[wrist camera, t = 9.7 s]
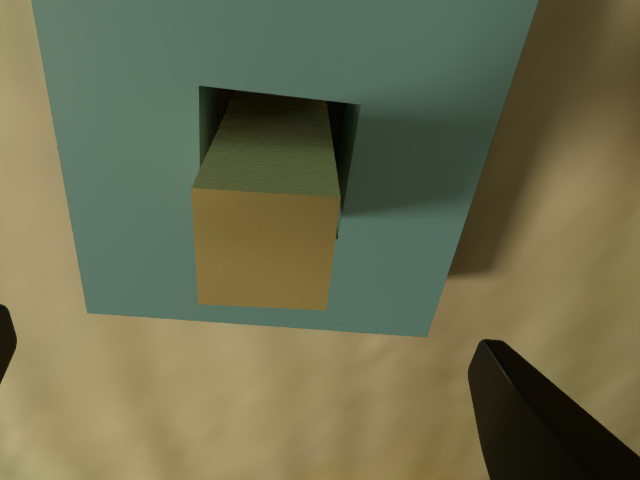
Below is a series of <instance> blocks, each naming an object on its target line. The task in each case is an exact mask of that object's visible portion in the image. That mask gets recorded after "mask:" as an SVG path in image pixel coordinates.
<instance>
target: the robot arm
mask: <svg viewBox="0 0 640 480" xmlns="http://www.w3.org/2000/svg"><path fill="white" fill-rule="evenodd" d="M16 345H17V337H16V333H15V330H14V326H13V323H12V319H11V316H10V313H9V310H8V308H7V307H6V306H4V305H1V304H0V384H1V381H2V379H3V377H4V375H5V372H6V370H7V368H8V365H9V363H10V361H11V359H12V356H13V354H14V352H15V349H16ZM468 381H469V386H470V391H471V397H472V402H473V407H474V413H475V418H476V423H477V429H478V434H479V439H480V444H481V449H482V453H483V456H484V460H485V464H486V467H487V470H488V474H489V477H490V480H640V457H639V456H638V455H637V454H636V453H635V452H633V451H632V450H631V449H630V448H629V447H627V446H626V445H625V444H624V443H623V442H622V441H620V440H619V439H618V438H617V437H616V436H615V435H613V434H612V433H611V432H610V431H609V430H607V429H606V428H605V427H604V426H603V425H602V424H600V423H599V422H598V421H597V420H596V419H595V418H593V417H592V416H591V415H590V414H589V413H587V412H586V411H585V410H584V409H583V408H582V407H580V406H579V405H578V404H577V403H576V402H575V401H573V400H572V399H571V398H570V397H569V396H567V395H566V394H565V393H564V392H563V391H562V390H560V389H559V388H558V387H557V386H556V385H555V384H553V383H552V382H551V381H550V380H549V379H547V378H546V377H545V376H544V375H543V374H542V373H540V372H539V371H538V370H537V369H536V368H535V367H533V366H532V365H531V364H530V363H529V362H527V361H526V360H525V359H524V358H523V357H522V356H520V355H519V354H518V353H517V352H516V351H515V350H513V349H512V348H511V347H510V346H509V345H507V344H506V343H505V342H503V341H501V340H492V339H483V340H481V341H480V342H479V344H478V346H477V349H476V351H475V354H474V356H473V358H472V361H471V363H470V366H469V369H468Z"/></svg>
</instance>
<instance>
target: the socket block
mask: <svg viewBox="0 0 640 480" xmlns="http://www.w3.org/2000/svg"><path fill="white" fill-rule="evenodd" d="M31 1H32V6H33V12H34V17H35V23H36V29H37V34H38V40H39V45H40V51H41V57H42V62H43V68H44V73H45V79H46V85H47V90H48V96H49V101H50V107H51V113H52V118H53V124H54V129H55V135H56V141H57V146H58V152H59V157H60V163H61V169H62V174H63V180H64V185H65V191H66V196H67V202H68V208H69V213H70V219H71V224H72V230H73V236H74V241H75V247H76V252H77V258H78V264H79V269H80V275H81V280H82V286H83V292H84V297H85V303H86V308H87V313H95V314H109V315H123V316H137V317H151V318H165V319H178V320H192V321H206V322H220V323H234V324H248V325H262V326H276V327H290V328H304V329H318V330H331V331H345V332H359V333H373V334H387V335H401V336H415V337H427V335H428V332H429V329H430V326H431V323H432V320H433V317H434V314H435V311H436V308H437V305H438V302H439V299H440V296H441V293H442V290H443V287H444V284H445V281H446V278H447V275H448V272H449V269H450V266H451V263H452V260H453V257H454V254H455V251H456V248H457V245H458V242H459V239H460V236H461V233H462V230H463V227H464V224H465V221H466V218H467V215H468V212H469V209H470V206H471V203H472V200H473V197H474V194H475V191H476V188H477V185H478V182H479V179H480V176H481V173H482V170H483V167H484V164H485V161H486V158H487V155H488V152H489V149H490V146H491V143H492V140H493V137H494V134H495V131H496V128H497V125H498V122H499V119H500V116H501V113H502V110H503V107H504V104H505V101H506V98H507V95H508V92H509V88H510V85H511V82H512V79H513V76H514V73H515V70H516V67H517V64H518V61H519V58H520V55H521V52H522V49H523V46H524V43H525V40H526V37H527V34H528V31H529V28H530V25H531V22H532V19H533V16H534V13H535V10H536V7H537V4H538V1H539V0H31ZM218 88H224V89H232V90H241V91H249V92H258V93H266V94H275V95H283V96H292V97H300V98H309V99H318V100H326V101H335V102H343V103H346V105H345V112H344V118H343V125H342V131H341V138H340V144H339V151H338V157H337V164H336V169H337V176H338V183H339V189H340V196H341V200H340V208H339V216H338V224H337V231H336V239H335V247H334V255H333V263H332V271H331V279H330V286H329V294H328V302H327V310H326V311H324V310H304V309H284V308H264V307H244V306H224V305H203V304H198V293H197V276H196V260H195V243H194V227H193V210H192V194H191V187H192V185H193V183H194V181H195V178H196V176H197V174H198V172H199V170H200V167H201V165H202V163H203V161H204V159H205V157H206V154H207V152H208V150H209V148H210V146H211V144H212V141H213V139H214V137H215V135H216V133H217V130H218Z"/></svg>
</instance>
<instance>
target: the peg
mask: <svg viewBox="0 0 640 480" xmlns="http://www.w3.org/2000/svg"><path fill="white" fill-rule="evenodd" d="M191 194H192V210H193V227H194V243H195V260H196V276H197V293H198V304H203V305H224V306H244V307H264V308H284V309H304V310H324V311H326V310H327V302H328V294H329V286H330V279H331V271H332V263H333V255H334V247H335V239H336V231H337V224H338V216H339V208H340V200H341V196H340V189H339V183H338V176H337V169H336V162H335V155H334V149H333V142H332V135H331V128H330V122H329V115H328V108H327V101H326V100H318V99H309V98H300V97H292V96H283V95H275V94H266V93H258V92H249V91H241V90H236V91H235V93H234V96H233V98H232V100H231V102H230V104H229V107H228V109H227V111H226V113H225V115H224V117H223V120H222V122H221V124H220V126H219V128H218V130H217V133H216V135H215V137H214V139H213V141H212V144H211V146H210V148H209V150H208V152H207V154H206V157H205V159H204V161H203V163H202V165H201V167H200V170H199V172H198V174H197V176H196V178H195V181H194V183H193V185H192V187H191Z"/></svg>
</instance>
